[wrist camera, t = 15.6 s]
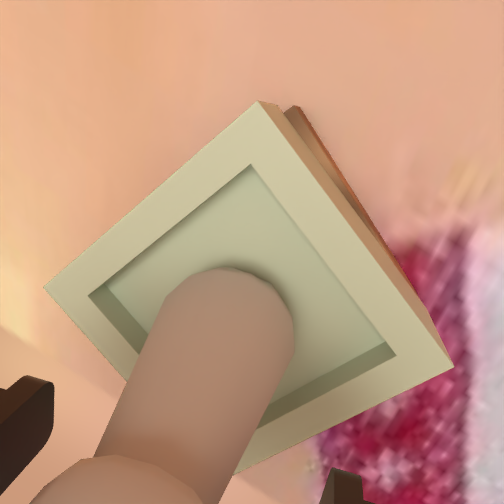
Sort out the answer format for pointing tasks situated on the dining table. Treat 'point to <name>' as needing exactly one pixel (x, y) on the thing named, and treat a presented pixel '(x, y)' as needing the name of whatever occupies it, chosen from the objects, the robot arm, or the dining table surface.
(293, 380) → the top block
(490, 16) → the dining table surface
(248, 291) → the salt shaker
